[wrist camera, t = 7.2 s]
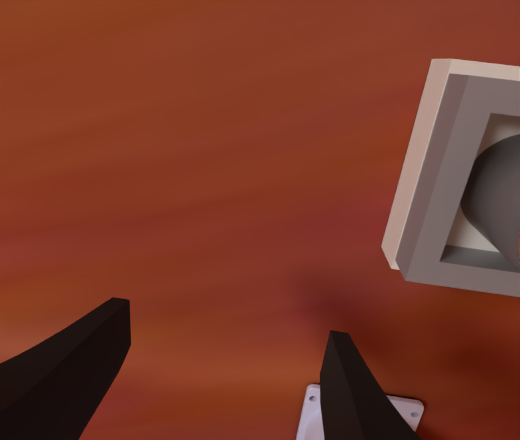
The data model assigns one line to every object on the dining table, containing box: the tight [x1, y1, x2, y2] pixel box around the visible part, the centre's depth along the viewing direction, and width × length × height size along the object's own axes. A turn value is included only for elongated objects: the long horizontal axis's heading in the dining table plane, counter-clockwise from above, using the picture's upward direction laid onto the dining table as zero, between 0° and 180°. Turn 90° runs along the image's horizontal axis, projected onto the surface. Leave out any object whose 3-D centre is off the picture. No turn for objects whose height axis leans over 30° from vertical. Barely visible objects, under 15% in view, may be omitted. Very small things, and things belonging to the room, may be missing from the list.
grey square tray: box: [381, 59, 520, 297], centre depth 17 cm, size 10×9×4 cm
